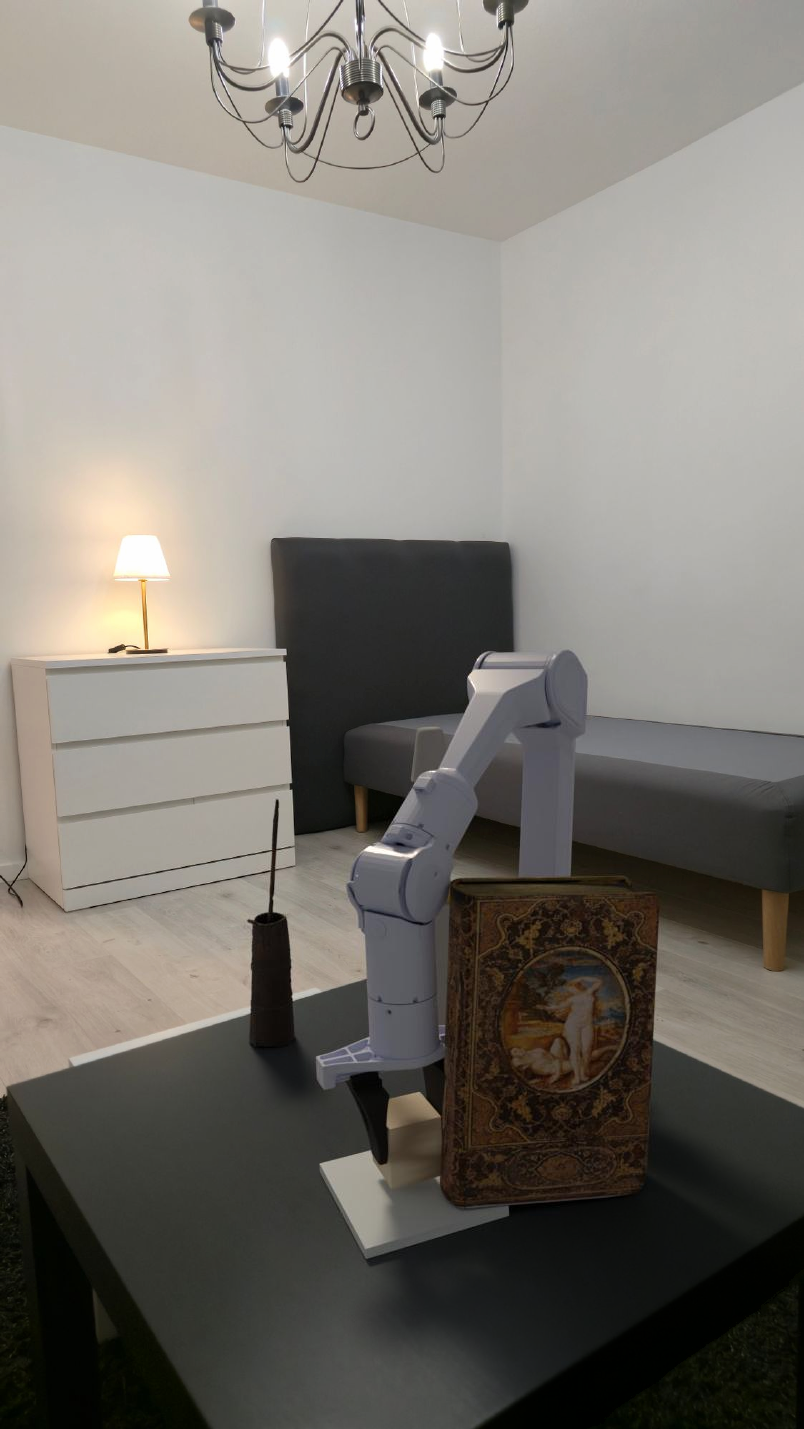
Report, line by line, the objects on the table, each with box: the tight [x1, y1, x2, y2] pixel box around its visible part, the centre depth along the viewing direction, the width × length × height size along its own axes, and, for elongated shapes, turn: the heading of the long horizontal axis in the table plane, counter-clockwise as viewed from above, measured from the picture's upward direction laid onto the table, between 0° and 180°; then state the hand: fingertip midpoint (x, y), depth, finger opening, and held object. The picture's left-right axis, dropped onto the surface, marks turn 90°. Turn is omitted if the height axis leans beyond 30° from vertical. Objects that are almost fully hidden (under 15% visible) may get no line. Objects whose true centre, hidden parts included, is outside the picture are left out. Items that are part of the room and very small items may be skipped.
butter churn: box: [246, 798, 296, 1048], centre depth 103 cm, size 9×10×28 cm
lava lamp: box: [410, 726, 452, 1025], centre depth 108 cm, size 9×9×35 cm
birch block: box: [373, 1091, 442, 1189], centre depth 75 cm, size 4×4×5 cm
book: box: [440, 875, 660, 1209], centre depth 74 cm, size 16×6×25 cm, turn 100°
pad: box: [319, 1149, 510, 1260], centre depth 75 cm, size 12×12×1 cm
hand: (408, 1150), depth 75 cm, fingers closed on birch block, 4 cm apart
